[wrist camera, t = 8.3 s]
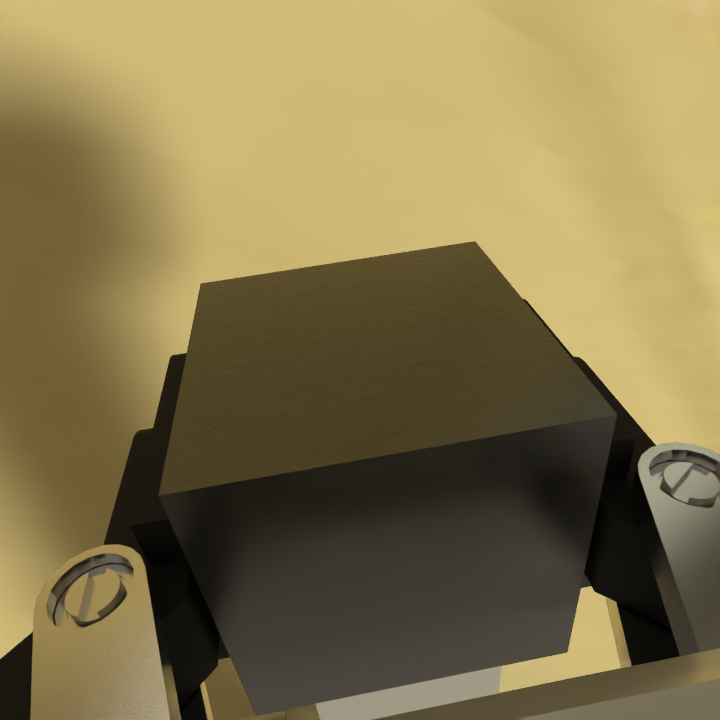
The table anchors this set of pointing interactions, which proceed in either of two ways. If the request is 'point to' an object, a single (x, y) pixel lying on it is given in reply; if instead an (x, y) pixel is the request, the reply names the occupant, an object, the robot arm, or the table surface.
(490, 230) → the table surface
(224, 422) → the shaft
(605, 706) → the robot arm
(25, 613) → the table surface
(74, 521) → the table surface
